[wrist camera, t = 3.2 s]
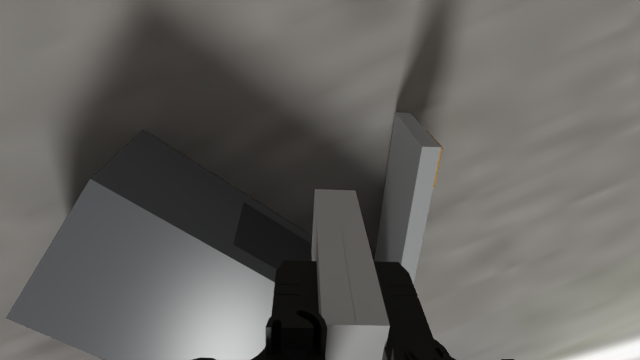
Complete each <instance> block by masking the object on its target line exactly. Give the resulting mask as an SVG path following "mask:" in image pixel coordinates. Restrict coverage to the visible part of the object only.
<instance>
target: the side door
mask: <svg viewBox="0 0 640 360" xmlns="http://www.w3.org/2000/svg"><path fill="white" fill-rule="evenodd" d="M442 149H443V148H442V146H441V145H440V144H439V143H438V142H437V141H436V140H435V139H434V138H433V137H432V135H431V134H430V133H429V132H428V131H427V130H425V129H424V128H423V127H422V126H421V124H420V123H419V122H418V121H417V120H416V119H415V118H414V117H413V116H412V114H411V113H397V112H395V118H394V125H393V132H392V140H391V147H390V154H389V161H388V168H387V175H386V182H385V189H384V196H383V203H382V210H381V217H380V224H379V231H378V238H377V245H376V252H375V259H374V260H373V261H378V262H399V263H400V264H401V265H402V266H403V267H404V268H405V269H406V270H407V271H408V272H409V274H410V277H411V279H412V282H413V285H414V280H415V275H416V270H417V265H418V260H419V255H420V250H421V245H422V240H423V235H424V230H425V225H426V220H427V215H428V210H429V205H430V200H431V195H432V190H433V187H435V183H436V178H437V173H438V168H439V163H440V159H441V154H442Z"/></svg>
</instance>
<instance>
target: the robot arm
mask: <svg viewBox="0 0 640 360" xmlns="http://www.w3.org/2000/svg"><path fill="white" fill-rule="evenodd" d="M311 253H312V261H289V260H284V261H283V262H282V264H281V265H280V266H279V268H278V269H277V270H276V276H275V286H274V297H273V305H272V315H271V317H270V318H269V320H268V322H267V325H266V346H265V348H264V349H263V350H262V351H261V352H260V353H259V354H258V355H257V356H256V357H254V358H253V359H251V360H455V359H454V358H452V357H451V356H450V355H449V353H448V352H447V350H446V349H445V347H444V346H442V345H441V344H440V343H439V342H438V341H436V340H434V338H433V336H432V333H431V331H430V328H429V325H428V323H427V320H426V317H425V315H424V312H423V309H422V306H421V304H420V301H419V298H417V293H416V290H415V288H414V285H413V282H412V279H411V277H410V274H409V272H408V271H407V270H406V269H405V268H404V267H403V266H402V265H401V264H400V263H399V262H378V261H373V258H372V254H371V250H370V246H369V242H368V238H367V234H366V230H365V226H364V222H363V218H362V215H361V211H360V207H359V203H358V199H357V195H356V191H355V190H327V189H315V196H314V214H313V231H312V249H311ZM193 360H216V359H213V358H201V357H200V358H196V359H193ZM502 360H514V359H502Z"/></svg>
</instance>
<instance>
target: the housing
mask: <svg viewBox="0 0 640 360" xmlns="http://www.w3.org/2000/svg"><path fill="white" fill-rule="evenodd" d="M311 249H312V236H311V235H310V234H308V233H307V232H305V231H303V230H302V229H300V228H299V227H297V226H295V225H294V224H292V223H291V222H289V221H287V220H286V219H284V218H283V217H281V216H280V215H278V214H276V213H275V212H273V211H272V210H270V209H268V208H267V207H265V206H264V205H262V204H260V203H259V202H257V201H256V200H254V199H252V198H251V197H249V196H248V195H246V194H244V193H243V192H241V191H240V190H238V189H236V188H235V187H233V186H232V185H230V184H228V183H227V182H225V181H224V180H222V179H221V178H219V177H217V176H216V175H214V174H213V173H211V172H209V171H208V170H206V169H205V168H203V167H201V166H200V165H198V164H197V163H195V162H193V161H192V160H190V159H189V158H187V157H185V156H184V155H182V154H181V153H179V152H177V151H176V150H174V149H173V148H171V147H169V146H168V145H166V144H165V143H163V142H162V141H160V140H158V139H157V138H155V137H154V136H152V135H150V134H149V133H147V132H146V131H144V130H142V131H141V132H140V133H139V134H138V135H137V136H136V137H135V138H134V139H133V140H131V141H130V142H129V143H128V144H127V145H126V146H125V147H124V148H123V149H122V150H121V151H120V152H118V153H117V154H116V155H115V156H114V157H113V158H112V159H111V160H110V161H109V162H108V163H107V164H105V165H104V166H103V167H102V168H101V169H100V170H99V171H98V172H97V173H96V174H95V175H94V176H92V177H91V178H90V180H89V181H88V183H87V185H86V186H85V188H84V190H83V191H82V193H81V195H80V196H79V198H78V200H77V201H76V203H75V204H74V206H73V208H72V209H71V211H70V213H69V214H68V216H67V218H66V219H65V221H64V223H63V224H62V226H61V228H60V229H59V231H58V233H57V234H56V236H55V238H54V239H53V241H52V243H51V244H50V246H49V248H48V249H47V251H46V252H45V254H44V256H43V257H42V259H41V261H40V262H39V264H38V266H37V267H36V269H35V271H34V272H33V274H32V276H31V277H30V279H29V281H28V282H27V284H26V286H25V287H24V289H23V291H22V292H21V294H20V295H19V297H18V299H17V300H16V302H15V304H14V305H13V307H12V309H11V310H10V312H9V314H8V315H7V317H6V318H7V319H9V320H12V321H14V322H16V323H19V324H21V325H24V326H26V327H28V328H31V329H33V330H35V331H38V332H40V333H42V334H45V335H47V336H50V337H52V338H54V339H57V340H59V341H61V342H64V343H66V344H69V345H71V346H73V347H76V348H78V349H80V350H83V351H85V352H88V353H90V354H92V355H95V356H97V357H99V358H102V359H104V360H193V359H196V358H200V357H201V358H213V359H216V360H251V359H253V358H254V357H256V356H257V355H258V354H259V353H260V352H261V351H262V350H263V349H264V348H265V346H266V325H267V322H268V320H269V318H270V317H271V315H272V305H273V297H274V286H275V276H276V270H277V269H278V268H279V266H280V265H281V264H282V262H283V261H284V260H289V261H312V253H311Z"/></svg>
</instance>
